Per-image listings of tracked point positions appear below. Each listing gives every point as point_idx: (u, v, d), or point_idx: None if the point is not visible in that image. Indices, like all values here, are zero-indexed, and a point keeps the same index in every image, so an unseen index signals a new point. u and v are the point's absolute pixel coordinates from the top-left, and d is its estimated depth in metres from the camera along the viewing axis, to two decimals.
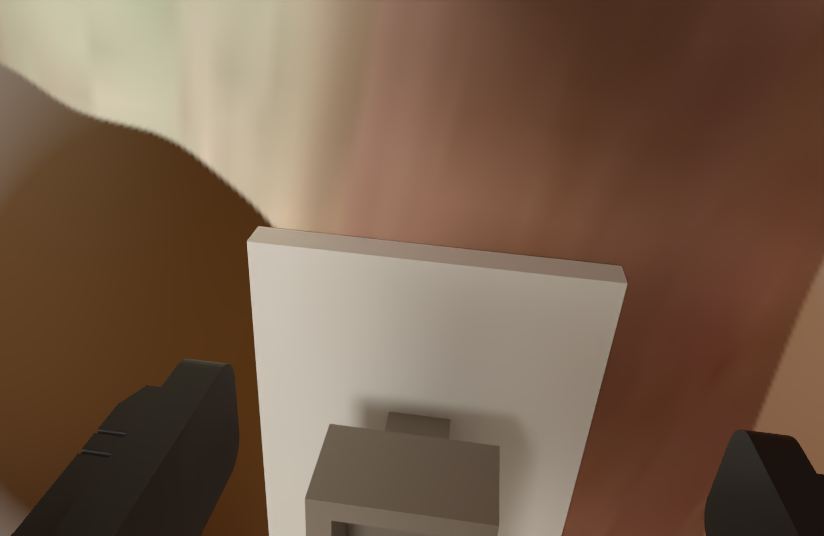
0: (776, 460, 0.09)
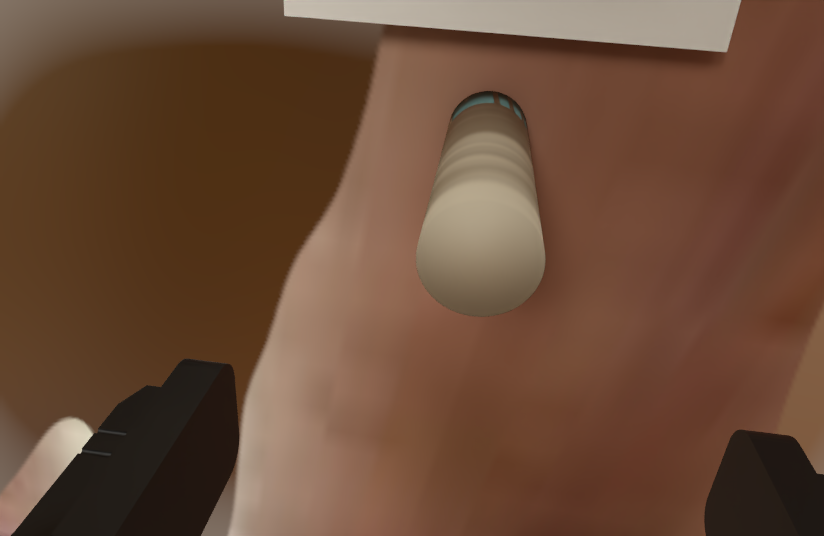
0: (776, 460, 0.09)
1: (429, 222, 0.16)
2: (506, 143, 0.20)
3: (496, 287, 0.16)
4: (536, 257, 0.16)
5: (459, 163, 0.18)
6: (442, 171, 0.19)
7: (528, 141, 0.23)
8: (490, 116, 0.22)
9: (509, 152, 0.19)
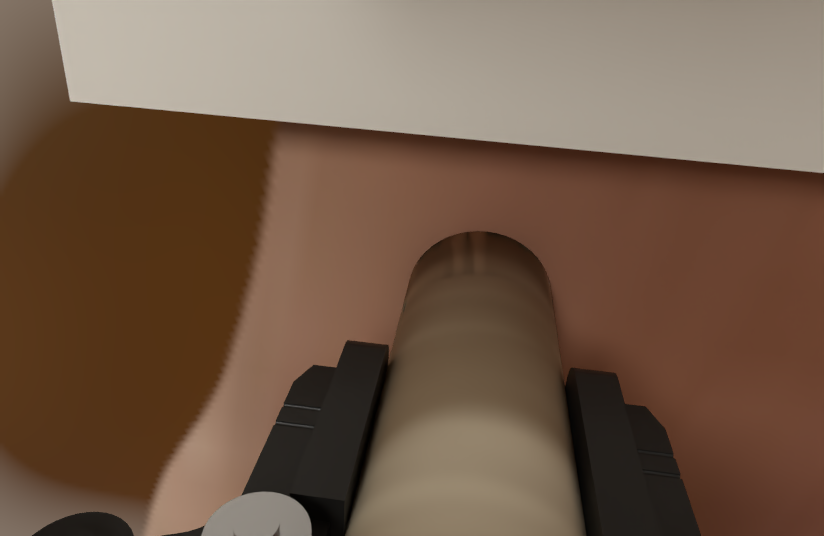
0: (591, 390, 0.10)
1: None
2: (520, 468, 0.08)
3: None
4: None
5: None
6: None
7: (561, 369, 0.11)
8: (481, 332, 0.10)
9: (527, 525, 0.07)
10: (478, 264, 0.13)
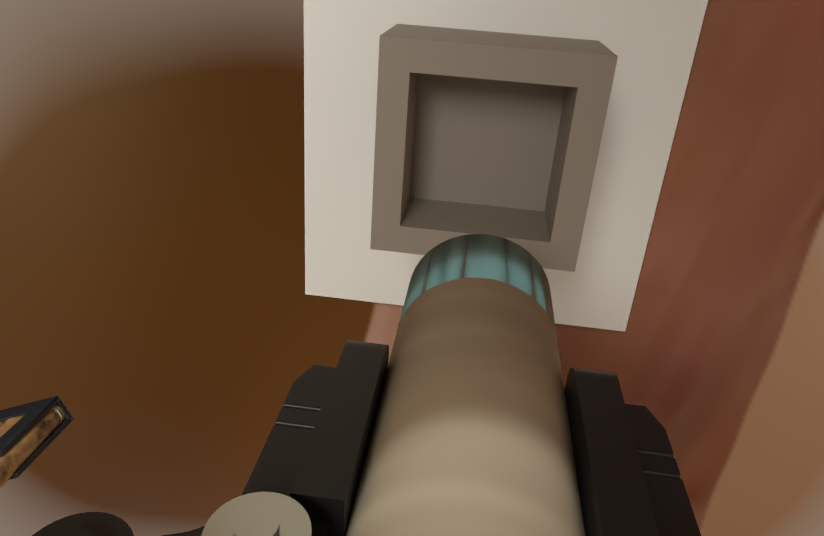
0: (591, 390, 0.10)
1: None
2: (519, 472, 0.08)
3: None
4: None
5: None
6: None
7: (560, 371, 0.11)
8: (481, 335, 0.10)
9: (527, 528, 0.07)
10: (478, 267, 0.13)
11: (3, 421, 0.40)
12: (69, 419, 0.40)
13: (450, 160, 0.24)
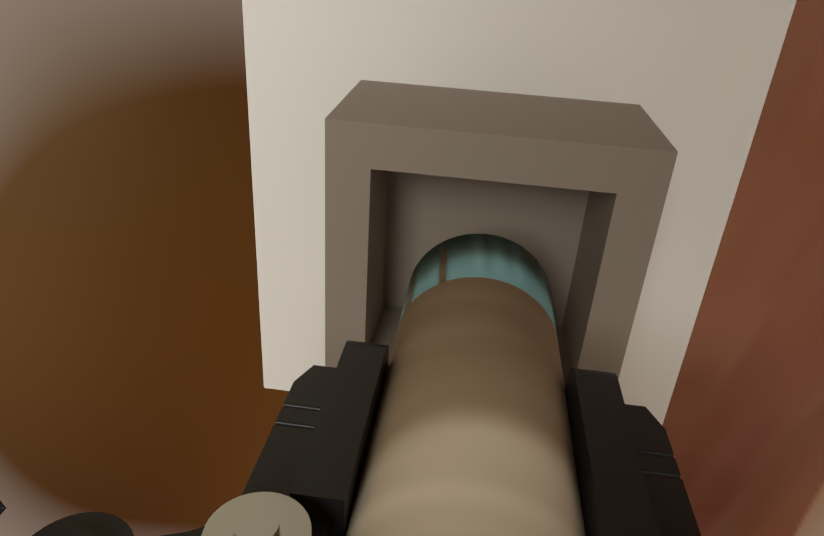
0: (591, 390, 0.10)
1: None
2: (520, 471, 0.08)
3: None
4: None
5: None
6: None
7: (560, 371, 0.11)
8: (481, 335, 0.10)
9: (527, 528, 0.07)
10: (478, 266, 0.13)
11: None
12: (0, 510, 0.34)
13: None
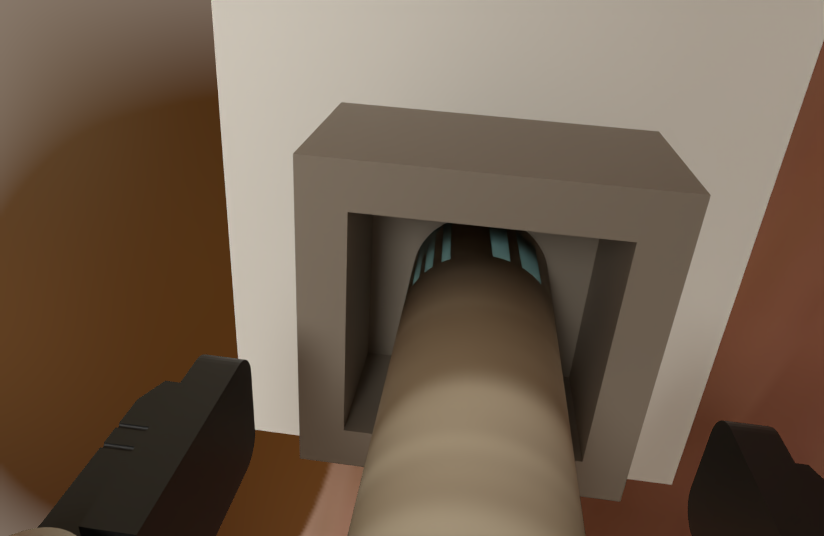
0: (755, 450, 0.09)
1: None
2: (518, 425, 0.09)
3: None
4: None
5: None
6: (365, 523, 0.08)
7: (556, 342, 0.12)
8: (482, 307, 0.11)
9: (525, 473, 0.08)
10: (479, 245, 0.13)
11: None
12: None
13: None
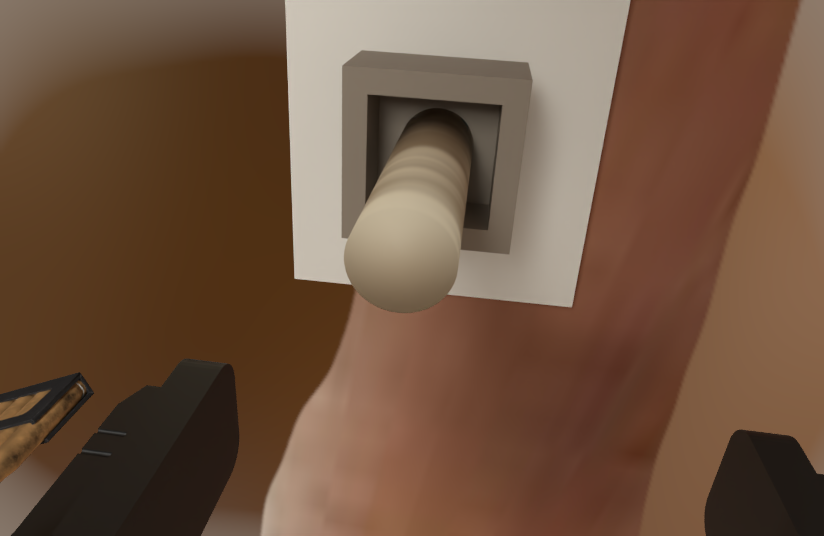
0: (776, 460, 0.09)
1: (354, 228, 0.18)
2: (438, 156, 0.22)
3: (417, 286, 0.18)
4: (450, 258, 0.18)
5: (390, 175, 0.20)
6: (377, 182, 0.21)
7: (467, 154, 0.25)
8: (430, 131, 0.24)
9: (438, 165, 0.21)
10: (433, 116, 0.27)
11: (32, 395, 0.46)
12: (90, 393, 0.45)
13: None
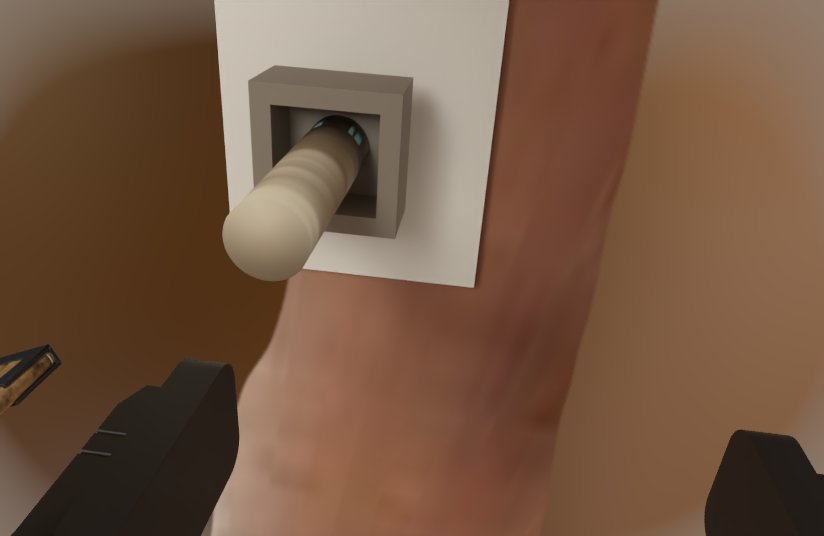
0: (776, 460, 0.09)
1: (229, 214, 0.23)
2: (316, 158, 0.27)
3: (280, 260, 0.23)
4: (302, 238, 0.23)
5: (270, 172, 0.26)
6: None
7: (353, 155, 0.30)
8: (319, 136, 0.30)
9: (312, 165, 0.26)
10: (329, 122, 0.32)
11: (6, 365, 0.51)
12: (58, 363, 0.51)
13: None
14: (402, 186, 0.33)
